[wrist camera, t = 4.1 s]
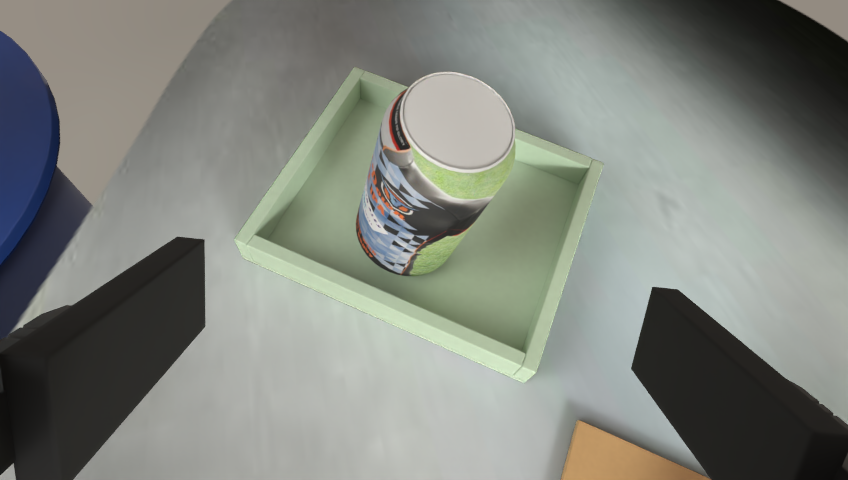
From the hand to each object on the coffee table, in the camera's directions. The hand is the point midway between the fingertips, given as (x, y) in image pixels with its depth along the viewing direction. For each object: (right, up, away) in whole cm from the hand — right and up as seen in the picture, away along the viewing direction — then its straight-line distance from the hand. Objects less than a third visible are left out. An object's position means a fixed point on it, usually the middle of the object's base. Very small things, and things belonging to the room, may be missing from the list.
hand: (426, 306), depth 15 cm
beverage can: (-1, +2, +17) cm, 17 cm away
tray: (0, +3, +18) cm, 18 cm away
